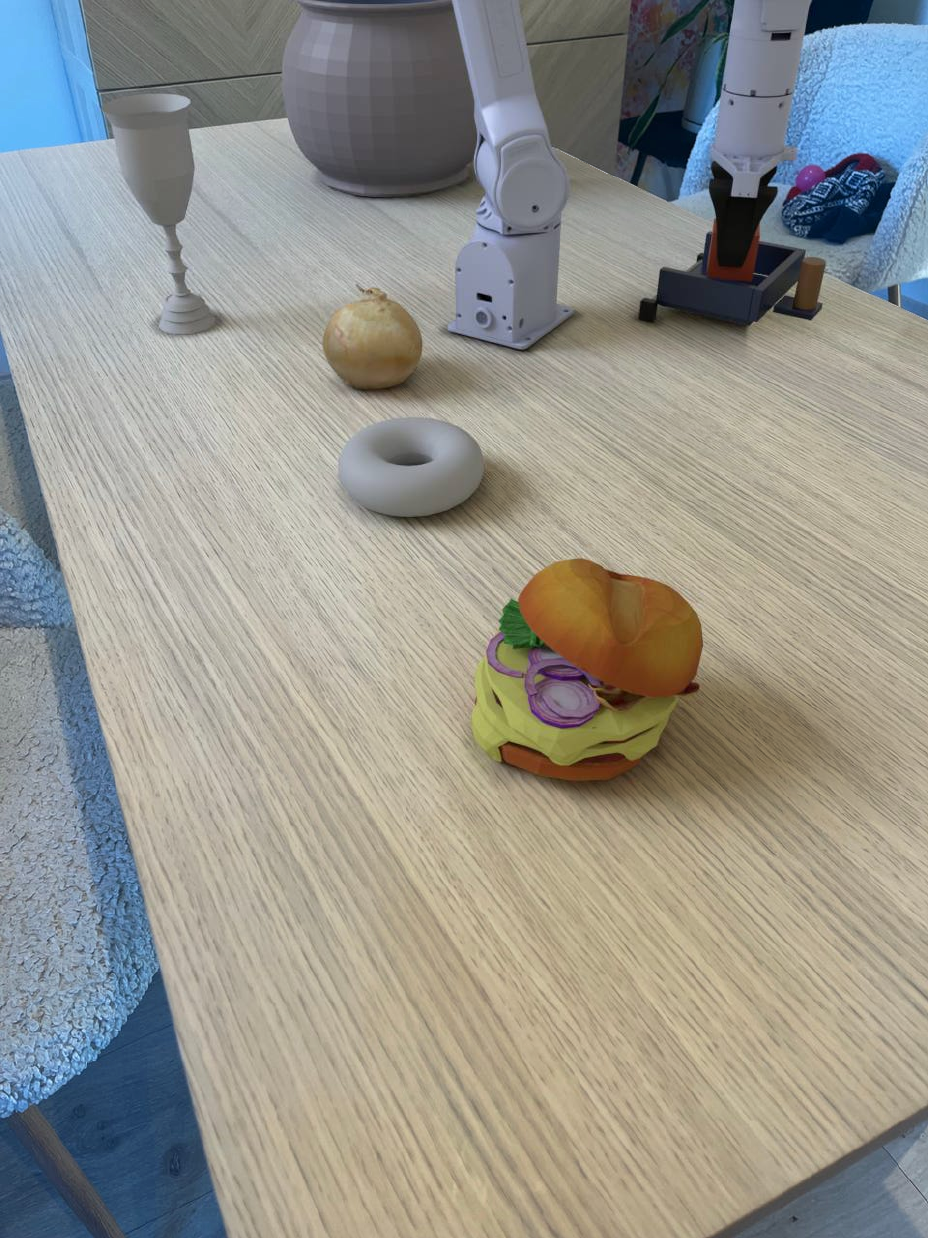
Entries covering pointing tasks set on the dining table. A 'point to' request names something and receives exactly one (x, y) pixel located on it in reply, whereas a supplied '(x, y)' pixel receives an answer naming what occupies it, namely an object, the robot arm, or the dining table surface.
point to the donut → (410, 491)
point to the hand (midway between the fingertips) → (730, 256)
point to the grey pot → (380, 95)
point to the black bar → (653, 305)
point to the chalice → (161, 186)
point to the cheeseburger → (585, 672)
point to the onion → (372, 342)
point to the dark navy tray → (747, 287)
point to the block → (732, 272)
